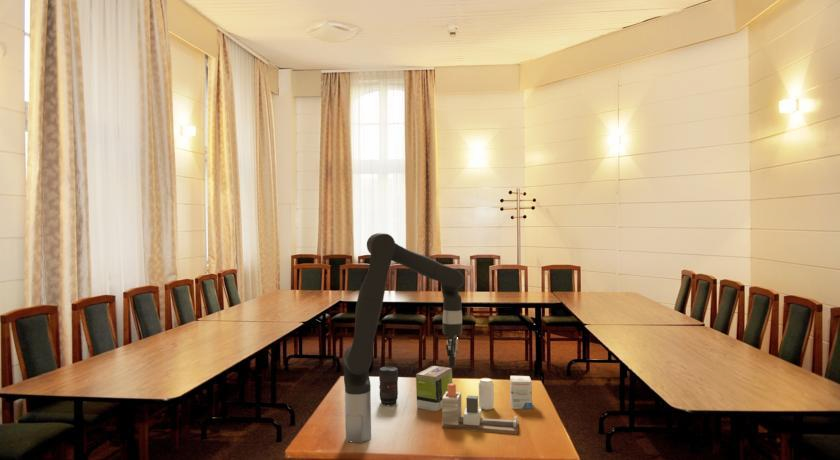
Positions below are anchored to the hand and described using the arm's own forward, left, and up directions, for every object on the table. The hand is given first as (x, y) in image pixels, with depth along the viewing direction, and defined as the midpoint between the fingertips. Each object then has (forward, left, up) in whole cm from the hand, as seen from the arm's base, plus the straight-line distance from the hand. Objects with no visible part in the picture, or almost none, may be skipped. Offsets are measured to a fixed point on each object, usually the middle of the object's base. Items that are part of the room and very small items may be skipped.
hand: (452, 366), depth 201 cm
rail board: (0, -11, -22) cm, 25 cm away
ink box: (+26, -25, -23) cm, 43 cm away
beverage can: (+20, -11, -23) cm, 32 cm away
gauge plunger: (0, 0, -17) cm, 17 cm away
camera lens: (+18, +31, -23) cm, 43 cm away
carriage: (0, -8, -21) cm, 22 cm away
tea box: (+20, +11, -23) cm, 32 cm away
